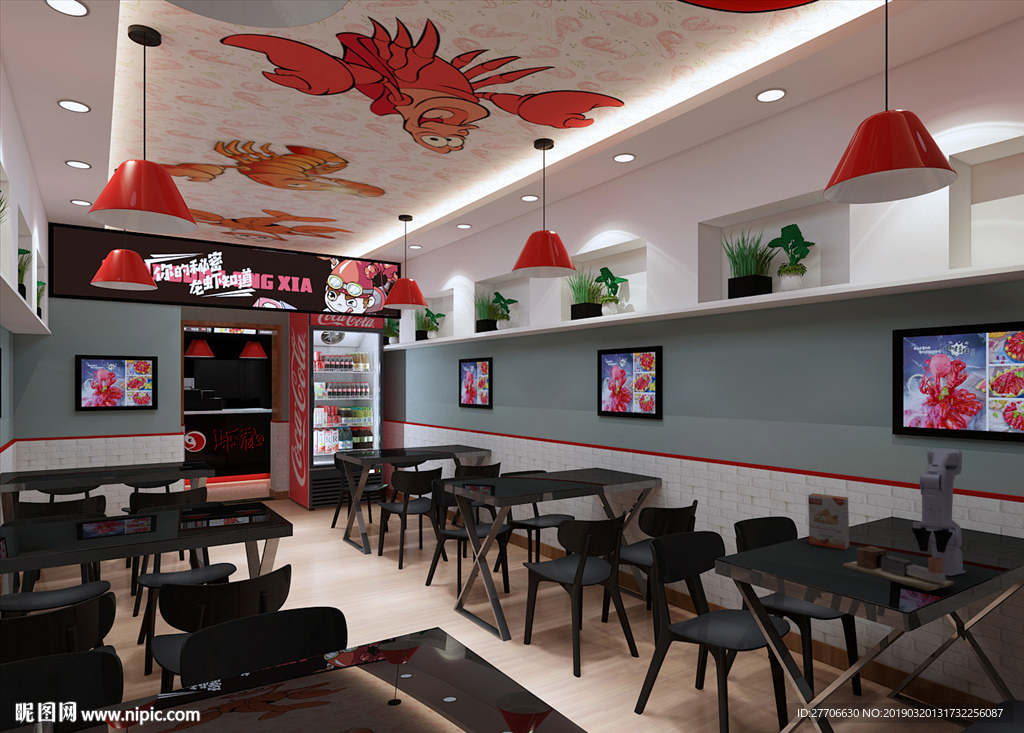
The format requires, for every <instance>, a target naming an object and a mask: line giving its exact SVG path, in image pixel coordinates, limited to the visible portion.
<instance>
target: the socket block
mask: <svg viewBox="0 0 1024 733" xmlns="http://www.w3.org/2000/svg"><path fill="white" fill-rule="evenodd" d="M883 556H888V551H887V549H885V548H882V547H881V548H880V547H878V546H877V547H876V546H874V545H873V546H872V545H868V546H864V547H858V548H856V561H857V565H858V566H862V567H865V568H869V569H878V568H881V557H883Z"/></svg>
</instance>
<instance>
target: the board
mask: <svg viewBox="0 0 1024 733" xmlns="http://www.w3.org/2000/svg"><path fill="white" fill-rule="evenodd" d="M842 567H843V568H847V569H850V570H854V571H858V572H861V573H864V574H867V575H871V576H875V577H878V578H882V579H885V580H888V581H891V582H896V583H899V584H902V585H906V586H909V587H913V588H917V589H920V590H924V591H927V592H930V591H933V590H939V589H942V588H945V587H949V586H954V585H955V581H953V580H948V579H946V578H945V581H946V582H942V583H938V582H934V581H931V580H927V579H923V578H919V577H916V576H912V575H910V576H906V577H903V576H899V575H896V574H892V573H889V572H885V571H881V568H878V569H869V568H865V567H862V566H858V565H857V560H855V561H850V562H845V563H842Z"/></svg>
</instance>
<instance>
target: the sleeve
mask: <svg viewBox="0 0 1024 733" xmlns="http://www.w3.org/2000/svg"><path fill="white" fill-rule="evenodd" d="M907 563H910V564H914V563H913V560H911V559H906V558H902V557H899V556H894V555H888V554H887V556H883V557H881V571H885V572H889V573H892V574H896V575H899V576H903V577H906V576H910V575H908V574H905V564H907Z"/></svg>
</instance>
